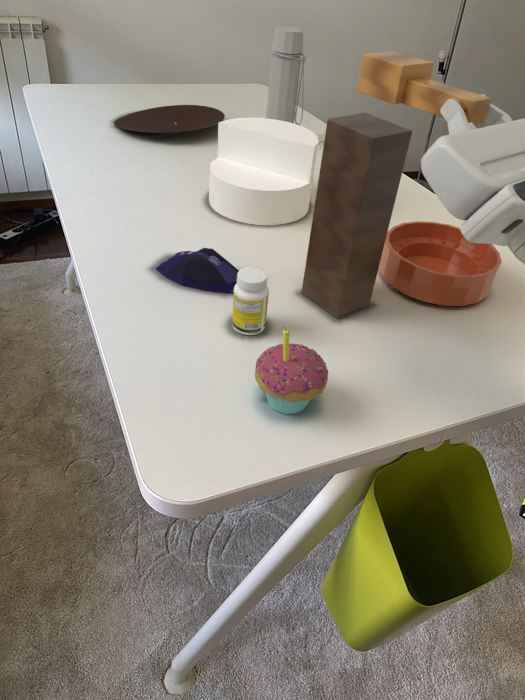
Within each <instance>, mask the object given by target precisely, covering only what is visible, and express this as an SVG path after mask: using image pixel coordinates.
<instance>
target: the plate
mask: <svg viewBox="0 0 525 700" xmlns="http://www.w3.org/2000/svg"><path fill="white" fill-rule="evenodd" d="M225 118H226V116H225V113H224V112H223V111H222V110H220V109H218V108H214V107H212V106H206V105H199V104H173V105H163V106H157V107H151V108H147V109H143V110H137V111H135V112H132V113H128V114H126V115H123V116H121V117H119V118H117V119H115V121H114V122H113V126H115V127H116V128H119V129H121V130H125V131H130V132H139V133H140V132H141V133H154V134H155V133H156V134H167V135H168V134H170V135H171V134H173V135H175V134H184V133H190V132H194V131H198V130H203V129H207V128H209V127H214V126H216V125H218V123H219V122H222V121H225Z"/></svg>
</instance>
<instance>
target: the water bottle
mask: <svg viewBox="0 0 525 700" xmlns="http://www.w3.org/2000/svg"><path fill="white" fill-rule="evenodd" d="M272 40H273V41H272V46H271V53H272V54H271V56H270V57H271V58H270V69H269V79H268V80H269V81H268V94H267V105H266V115H265V118H267V119H275V120H281V121H286V122H290V123H293V124H297V125H300V126H301V124H302V121H303V116H304V90H305V89H304V88H305V87H304V86H305V84H304V83H305V82H304V81H305V62H306V59H307V56H306V55H305V54H303V52H304V51H303V49H304V29H302V28H299V27H291V26H275V29H274V33H273V39H272ZM301 64H302V65H301ZM301 85H302V89H301ZM301 91H302V92H301ZM300 93H302V94H301V117H300V121H299V123H298V122H297V114H298V107H299V101H300Z"/></svg>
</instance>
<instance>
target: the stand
mask: <svg viewBox="0 0 525 700" xmlns="http://www.w3.org/2000/svg"><path fill="white" fill-rule="evenodd" d="M326 121H327V122H326V128H325V134H324V141H323V147H322V155H321V160H320V168H319V174H318V181H317V188H316V195H315V199H314V205H313V207H314V208H313V214H312V219H311V227H310V234H309V238H308V239H309V241H308V248H307V254H306V260H305V266H304V271H303V273H304V274H303V278H302V279H303V280H302V286H301V294H302V295H303V296H304V297H305V298H307V299H308V300H310V301H311V302H312V303H314V304H315V305H317V306H318V307H320V308H321V309H323V310H324V311H325V312H326V313H328V314H329V315H331V316H332V317H334V318H335V319H336V320H337V319H341V318H343V317H345V316H347V315H349V314H352V313H354V312H356V311H358V310H361V309H363V308H367V307H368V306H370V305H371V300H372V296H373V293H374V288H375V284H376V280H377V276H378V272H379V264H380V260H381V256H382V252H383V248H384V244H385V240H386V236H387V232H388V231H389V228H390V224H391V219H392V215H393V213H394V207H395V204H396V200H397V196H398V192H399V189H400V188H399V187H400V183H401V179H402V175H403V172H404V167H405V163H406V159H407V155H408V150H409V148H410V143H411V138H412V135H413V130H412V129H409V128H406V127H404V126H401V125H398V124H397V123H393V122H392V121H388V120H387V119H386V120H385V119H384V118H381V117H378V116H375V115H373V114H371V113H369V112H362V113H355V114H350V115H343V116H337V117H331V118H327V120H326Z"/></svg>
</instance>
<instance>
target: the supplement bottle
mask: <svg viewBox="0 0 525 700" xmlns="http://www.w3.org/2000/svg"><path fill="white" fill-rule="evenodd" d="M238 270H239V272H238V274H237V284H236V285H235V287H234V291H233V294H232V295H233V297H232V298H233V299H232V317H231V325H232V328H233V330H235V331H236V332H237V333H239V334H242V335H246V336H255V335H259V334H261V333H262V332H264V330H265V328H266V325H267V314H268V304H269V296H270V290H269V289H270V288H269V286H268V274H267V272H266V270H263V269H262V268H259V267H255V266H246V267H243V268H241V269H238Z"/></svg>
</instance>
